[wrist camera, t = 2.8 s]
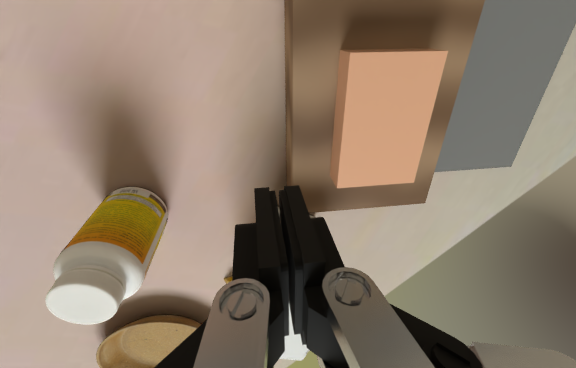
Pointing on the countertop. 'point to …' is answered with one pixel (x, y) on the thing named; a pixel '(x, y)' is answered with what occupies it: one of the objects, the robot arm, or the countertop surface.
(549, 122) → the countertop surface
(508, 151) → the mat
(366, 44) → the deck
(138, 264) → the supplement bottle
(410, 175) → the peach rectangular slab
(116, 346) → the plant saucer
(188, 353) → the robot arm
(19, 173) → the countertop surface
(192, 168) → the countertop surface
